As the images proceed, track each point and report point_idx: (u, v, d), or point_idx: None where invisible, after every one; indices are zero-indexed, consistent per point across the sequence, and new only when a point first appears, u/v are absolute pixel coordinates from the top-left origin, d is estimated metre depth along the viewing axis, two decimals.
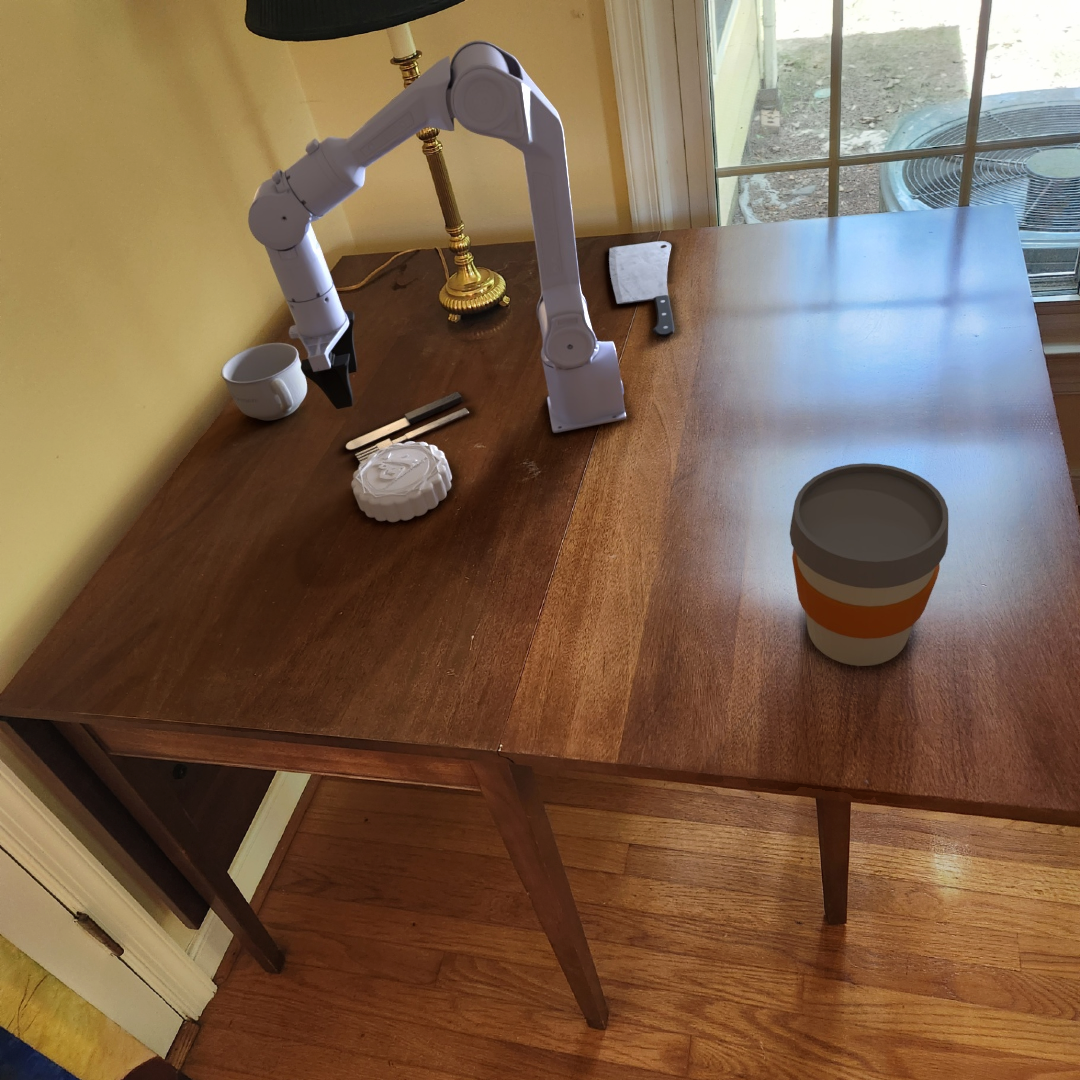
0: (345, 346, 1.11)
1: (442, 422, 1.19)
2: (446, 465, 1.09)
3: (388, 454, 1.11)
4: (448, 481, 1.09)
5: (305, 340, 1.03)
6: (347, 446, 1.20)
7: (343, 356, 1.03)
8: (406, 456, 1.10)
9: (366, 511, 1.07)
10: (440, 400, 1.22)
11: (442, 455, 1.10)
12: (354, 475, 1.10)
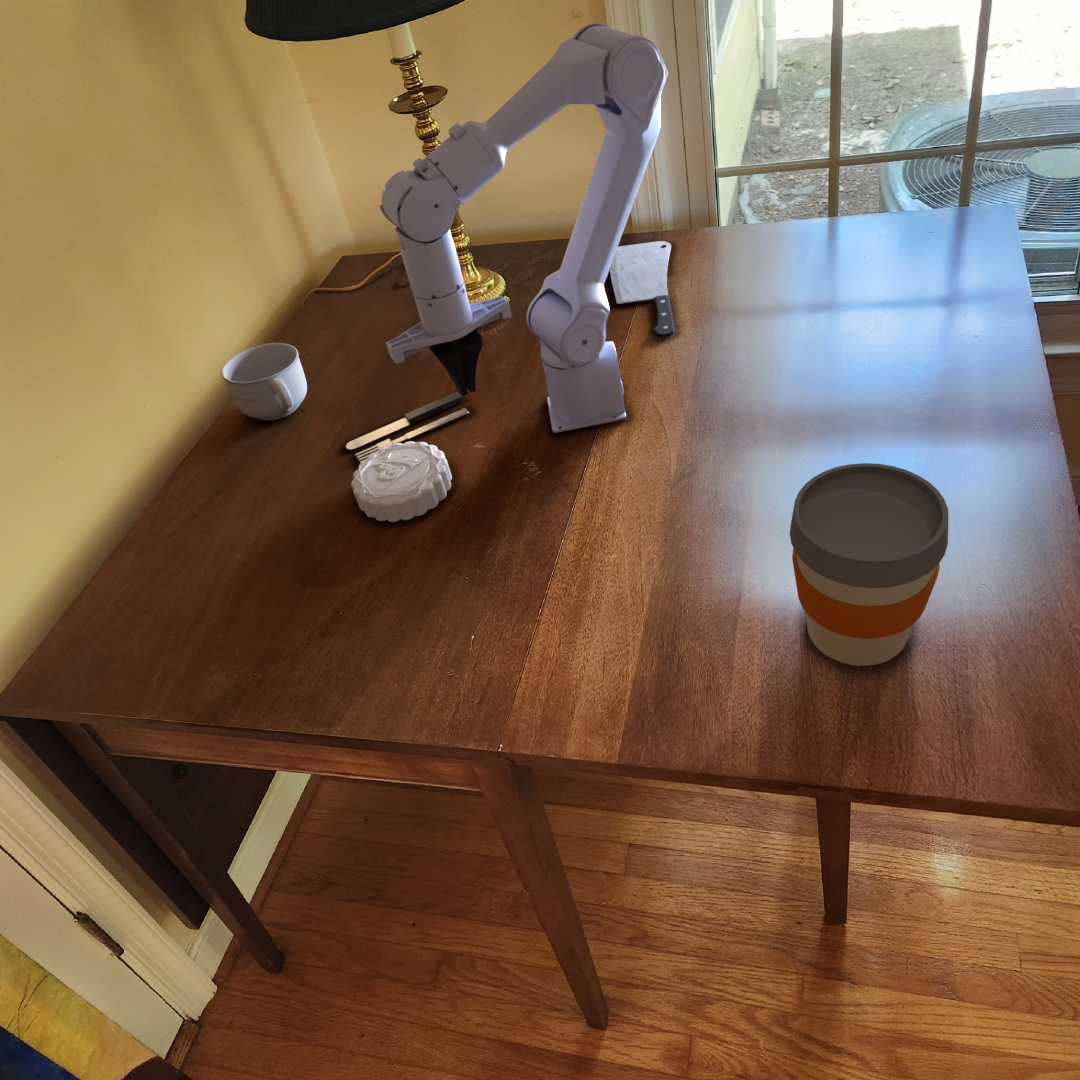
0: (464, 364, 1.04)
1: (442, 422, 1.19)
2: (446, 465, 1.09)
3: (388, 454, 1.11)
4: (448, 481, 1.09)
5: (421, 326, 1.01)
6: (347, 446, 1.20)
7: (451, 351, 1.00)
8: (406, 456, 1.10)
9: (366, 511, 1.07)
10: (440, 400, 1.22)
11: (442, 455, 1.10)
12: (354, 475, 1.10)
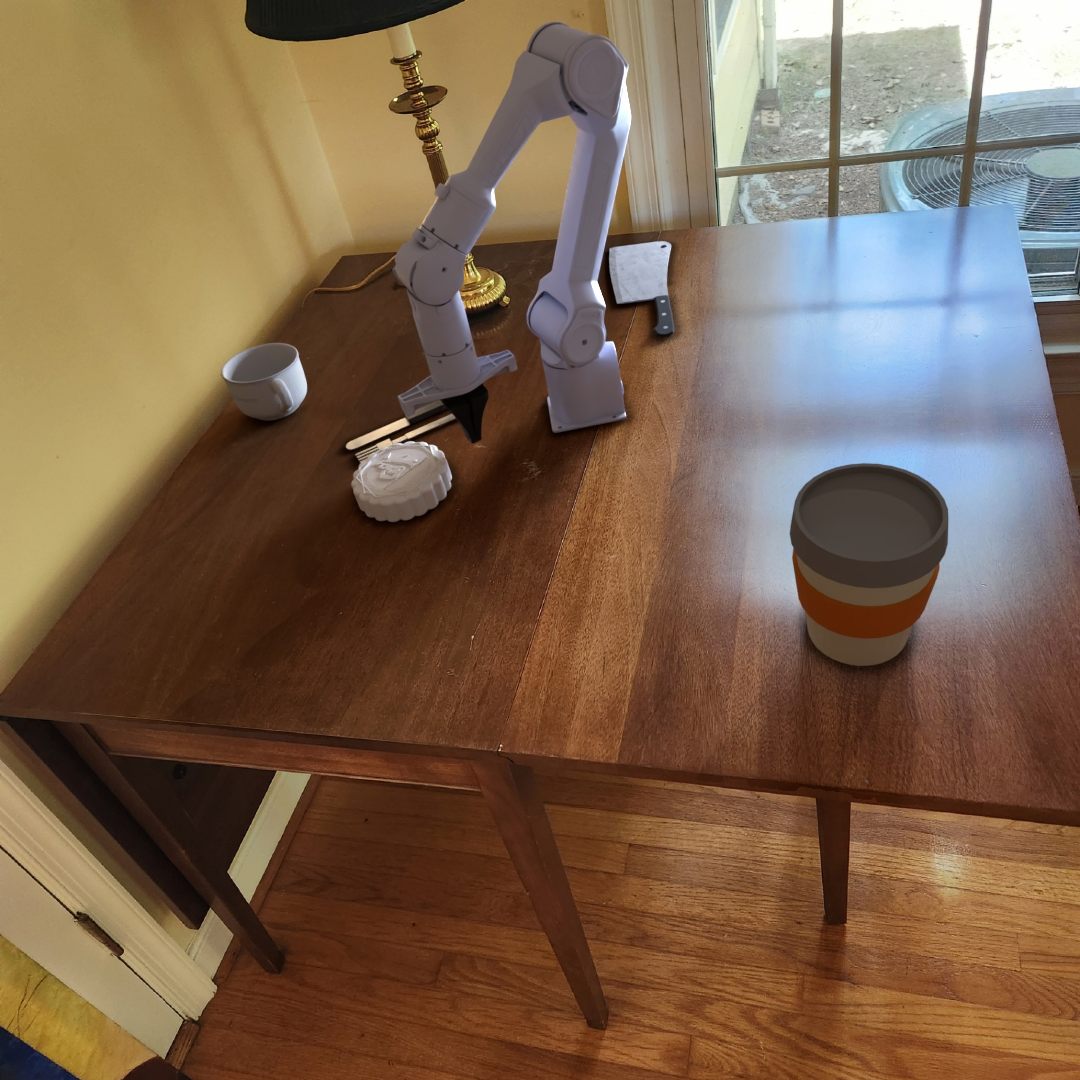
0: (471, 416, 1.08)
1: (442, 422, 1.19)
2: (446, 465, 1.09)
3: (388, 454, 1.11)
4: (448, 481, 1.09)
5: (431, 379, 1.06)
6: (347, 446, 1.20)
7: (461, 403, 1.05)
8: (406, 456, 1.10)
9: (366, 511, 1.07)
10: None
11: (442, 455, 1.10)
12: (354, 475, 1.10)
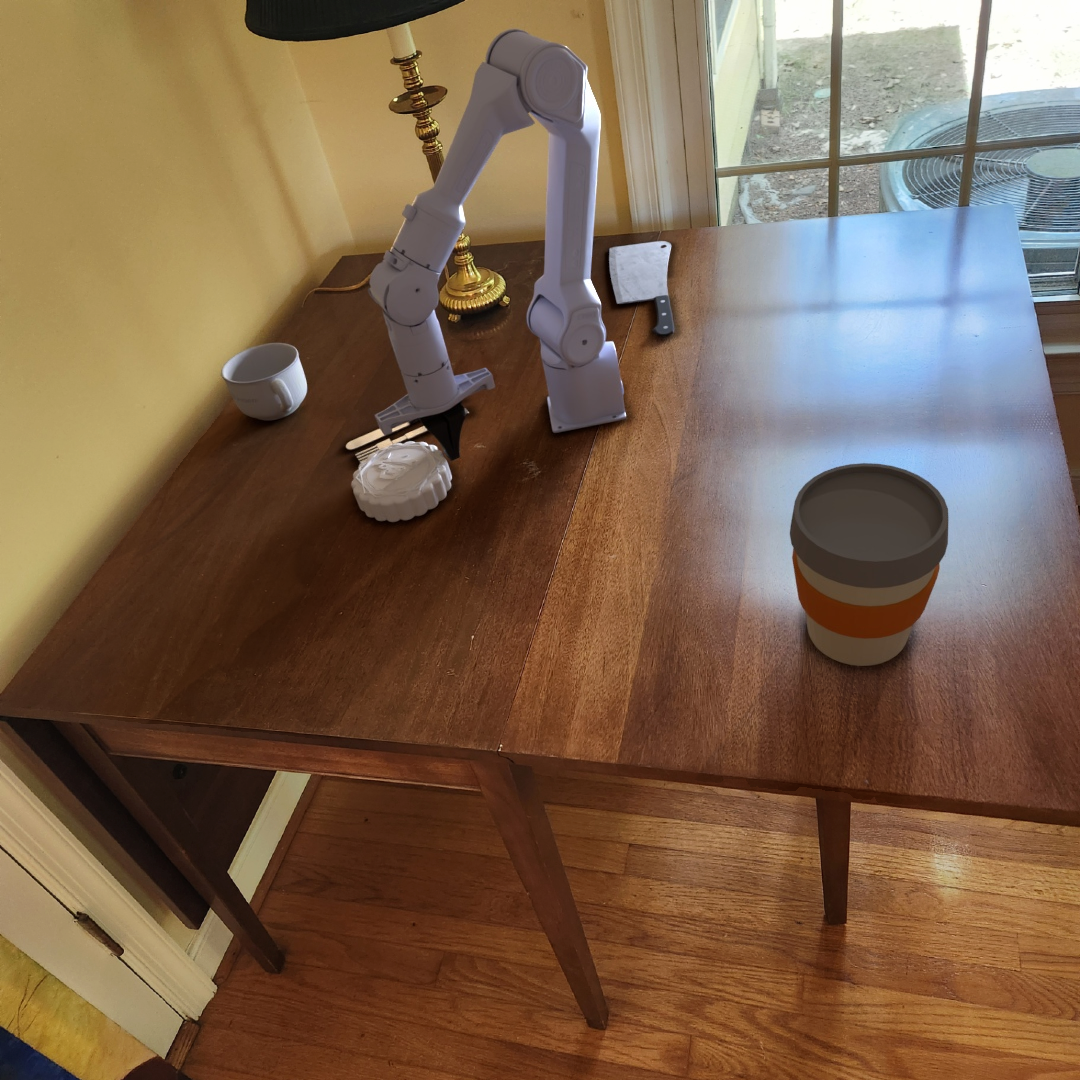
0: (448, 434, 1.08)
1: None
2: (446, 465, 1.09)
3: (388, 454, 1.11)
4: (448, 481, 1.09)
5: (408, 398, 1.06)
6: (347, 446, 1.20)
7: (439, 421, 1.05)
8: (406, 456, 1.10)
9: (366, 511, 1.07)
10: None
11: (442, 455, 1.10)
12: (354, 475, 1.10)
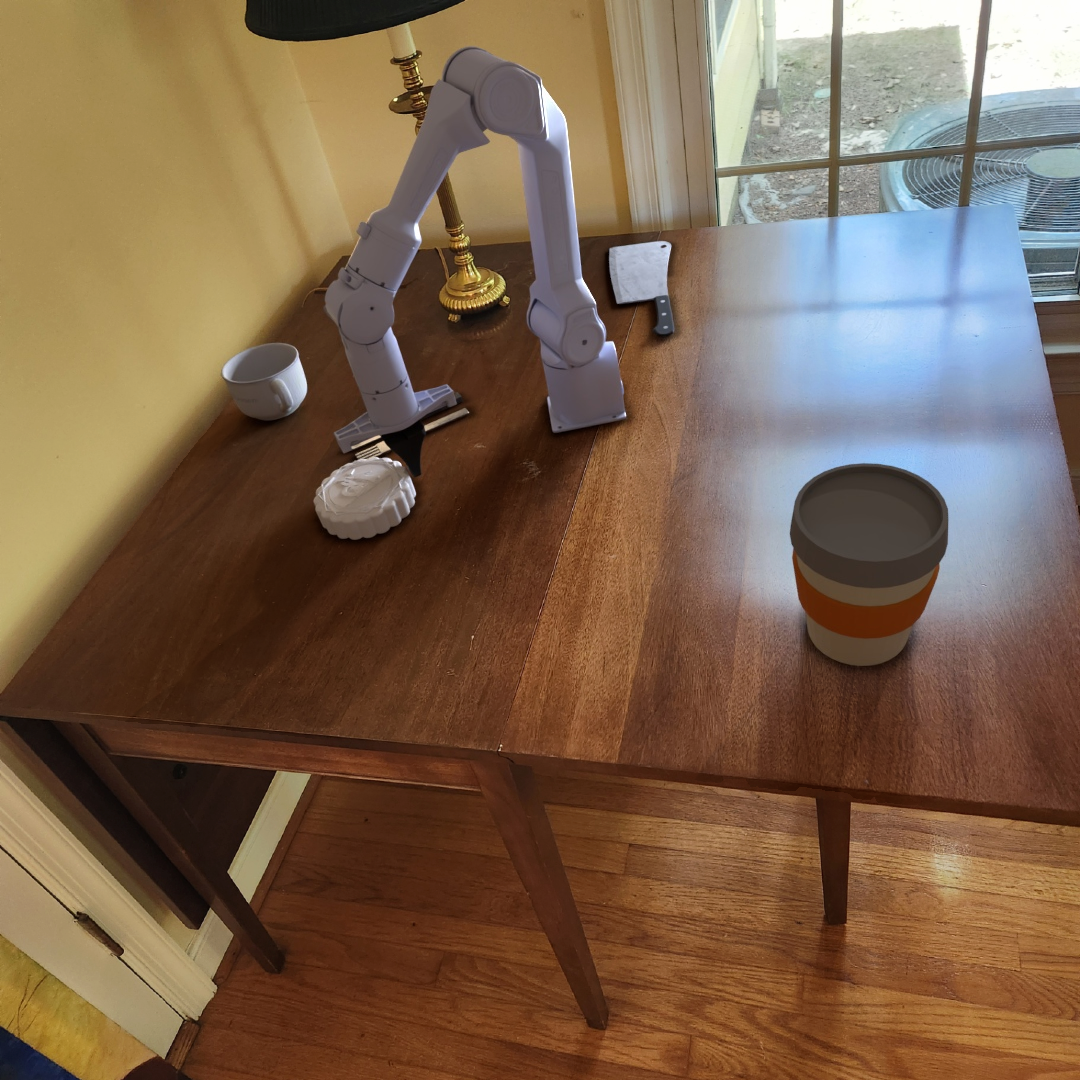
0: None
1: (442, 422, 1.19)
2: (409, 482, 1.08)
3: (351, 470, 1.10)
4: (411, 498, 1.07)
5: (368, 415, 1.05)
6: None
7: (400, 438, 1.04)
8: (369, 472, 1.09)
9: (328, 529, 1.06)
10: None
11: (405, 471, 1.09)
12: (317, 492, 1.09)
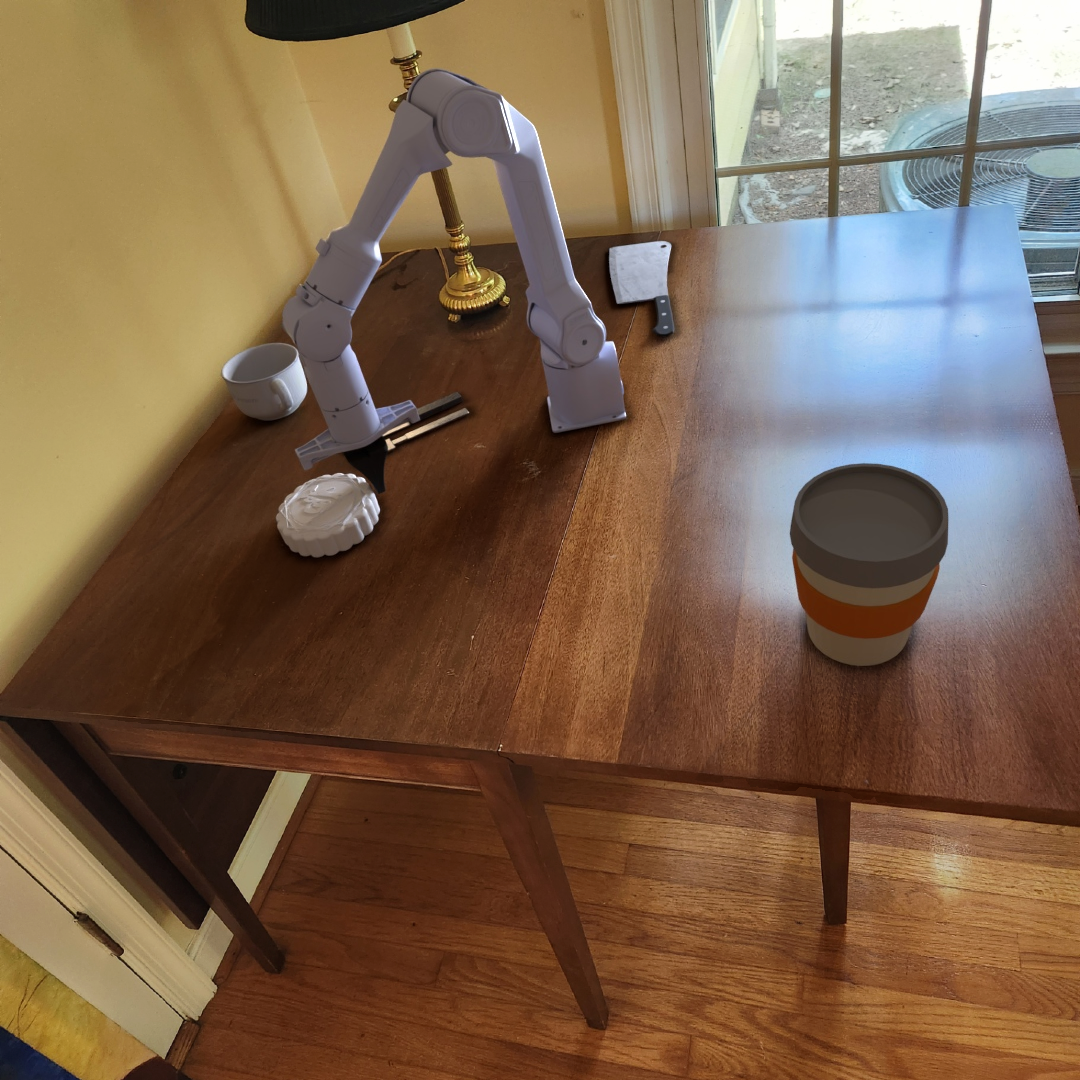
0: None
1: (442, 422, 1.19)
2: (373, 498, 1.07)
3: (315, 487, 1.09)
4: (374, 515, 1.06)
5: (330, 431, 1.04)
6: None
7: (362, 455, 1.03)
8: (332, 489, 1.08)
9: (290, 546, 1.05)
10: (440, 400, 1.22)
11: (369, 488, 1.08)
12: (279, 508, 1.07)
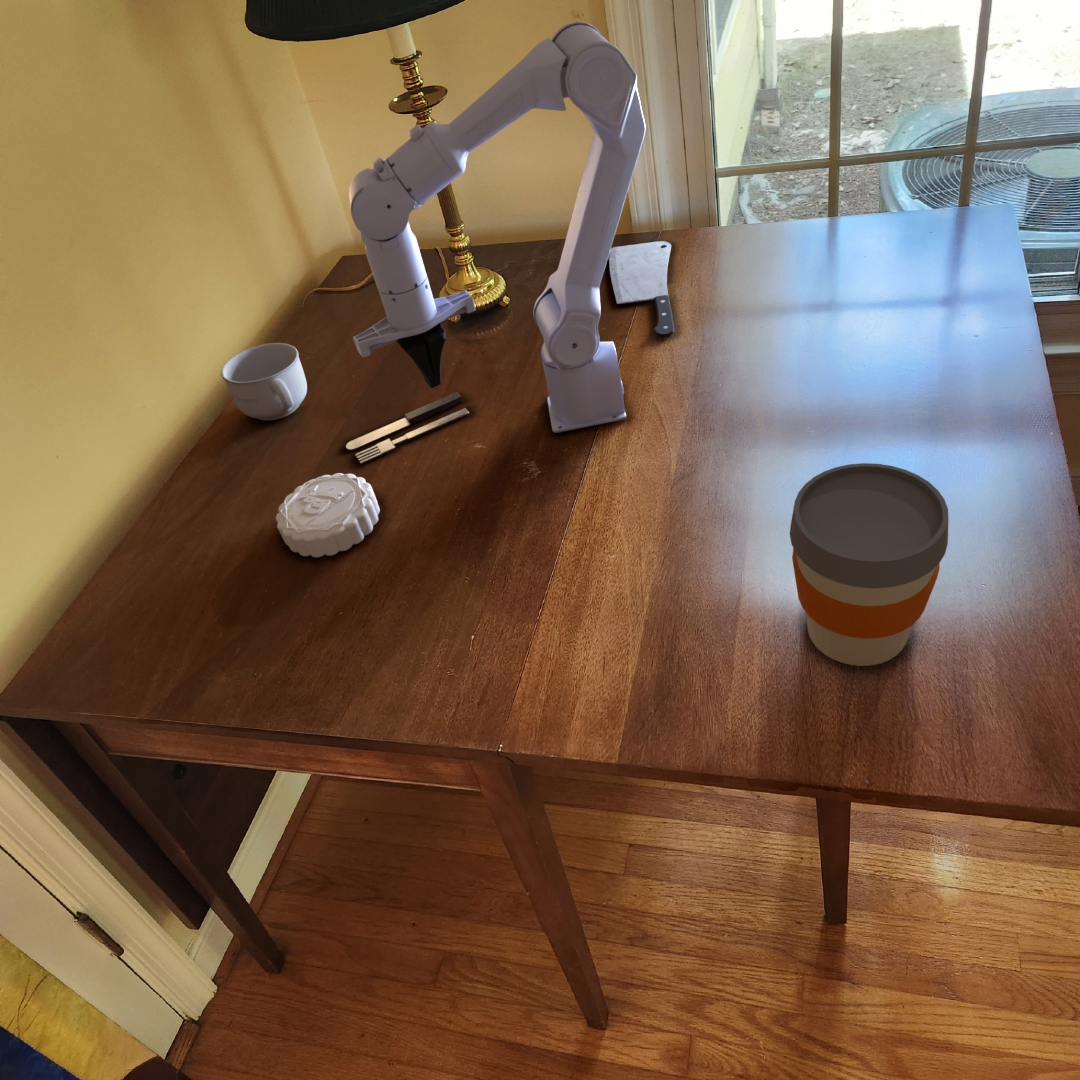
0: (429, 358, 1.06)
1: (442, 422, 1.19)
2: (372, 498, 1.07)
3: (315, 487, 1.09)
4: (374, 515, 1.06)
5: (387, 321, 1.04)
6: (347, 446, 1.20)
7: (418, 343, 1.03)
8: (332, 489, 1.08)
9: (290, 546, 1.05)
10: (440, 400, 1.22)
11: (369, 488, 1.08)
12: (279, 508, 1.07)
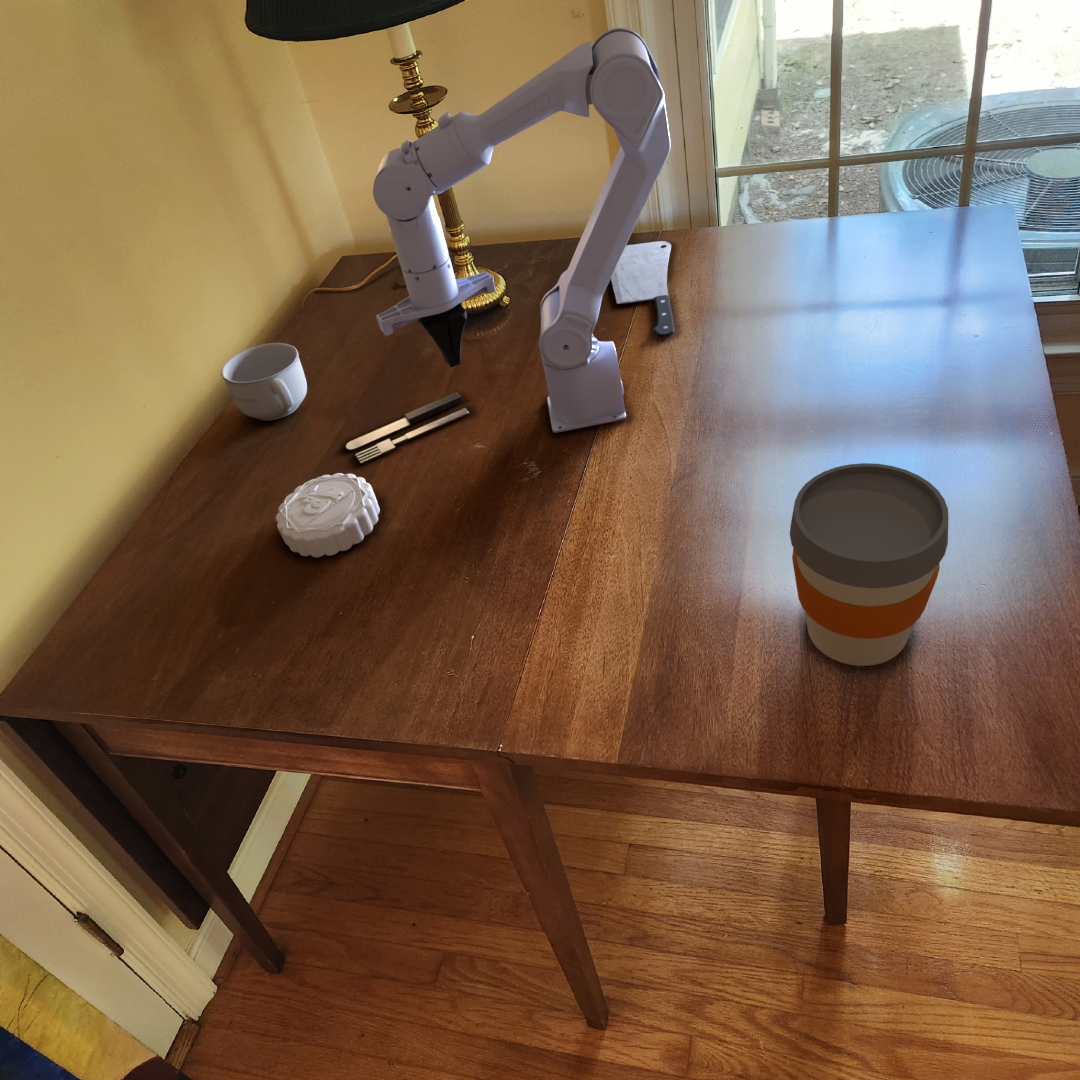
0: (449, 338, 1.09)
1: (442, 422, 1.19)
2: (372, 498, 1.07)
3: (315, 487, 1.09)
4: (374, 515, 1.06)
5: (409, 300, 1.06)
6: (347, 446, 1.20)
7: (439, 323, 1.05)
8: (332, 489, 1.08)
9: (290, 546, 1.05)
10: (440, 400, 1.22)
11: (369, 488, 1.08)
12: (279, 508, 1.07)
